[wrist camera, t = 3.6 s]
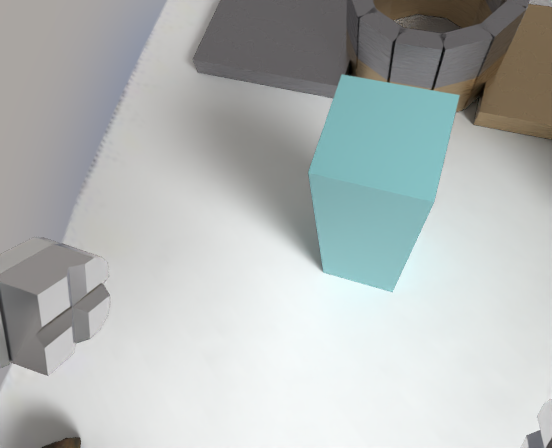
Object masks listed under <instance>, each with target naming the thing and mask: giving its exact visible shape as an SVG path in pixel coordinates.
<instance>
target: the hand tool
mask: <svg viewBox="0 0 552 448" xmlns="http://www.w3.org/2000/svg"><path fill="white" fill-rule="evenodd" d="M80 445H81V440H80V438H78V437H75V438H65V439H63V440H61V441H58V442H54V443H52V444H49V445H46V446H44V447H42V448H80Z"/></svg>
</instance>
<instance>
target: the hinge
mask: <svg viewBox="0 0 552 448" xmlns="http://www.w3.org/2000/svg"><path fill="white" fill-rule="evenodd" d="M415 14H421V15H429V16H436V17H443V18H447V19H449V20H450V21H452V22H453V23H455V24H457V25H458V26H460V27H461V28H462V29H458V30H454V31H450V32H446V33H436V32H430V31H423V30H416V29H409V28H403V27H402V26H400V25H399V24H398V23H396V22H395V21H393V20H396V19H400V18H404V17H407V16H411V15H415ZM193 62H194V64H195V66H196V69H197V71H198V72H199V73H204V74H209V75H215V76H220V77H225V78H230V79H236V80H241V81H246V82H251V83H257V84H262V85H267V86H273V87H278V88H283V89H288V90H294V91H299V92H304V93H309V94H315V95H320V96H325V97H331V98H334V96H335V93H336V90H337V87H338V84H339V81H340V78H341V75H342V74H343V75H348V76H349V74H350V75H351V76H354V77H360V78H365V79H371V80H377V81H382V82H388V83H394V84H399V85H405V86H411V87H416V88H422V89H428V90H433V91H439V92H445V93H450V94H456V95H460V96H459V100H458V104H457V108H456V112H458V111H462V110H463V108H464V109H466V108H467V107H468V106H469V105H470V104H471V103H472V102H473V101H475V100H476V99H477V98H478V97H479V96H480V98H479V102H478V107H477V111H476V116H475V120H474V125H478V126H483V127H489V128H494V129H499V130H504V131H510V132H515V133H520V134H525V135H531V136H536V137H541V138H547V139H552V7H549V6H541V5H533V4H529V0H221V1H220V3H219V5H218V7H217V9H216V11H215V13H214V15H213V17H212V20H211V22H210V24H209V26H208V28H207V30H206V32H205V34H204V36H203V39H202V41H201V43H200V45H199V47H198V49H197V51H196V53H195V55H194V58H193Z"/></svg>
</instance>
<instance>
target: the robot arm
mask: <svg viewBox="0 0 552 448" xmlns="http://www.w3.org/2000/svg"><path fill="white" fill-rule="evenodd" d="M108 277H109V271H108V262H107V261H106V260H105V259H103V258H102V257H100V256H97V255H94V254H91V253H88V252H86V251H83V250H80V249H77V248H74V247H71V246H68V245H65V244H60V243H58V242H56V241H52V240H49V239H46V238H43V237H33V238H31V239H29V240H27V241H25V242H23V243H21V244H19V245H17V246H15V247H13V248H11V249H9V250H7V251H5V252H3V253H1V254H0V368H3V367H5V366H7V365H9V364H10V362H11V363H14V364H16V365H19V366H22V367H25V368H27V369H30V370H33V371H36V372H38V373H41V374H44V375H47V376H49V375H50V374H51V373H52V372H53V371H54V370H55V369H57V368H58V367H59V366H60V365H61V364H62V363H63V362H65V361H66V360H67V359H68V358H69V357H70V356H71V355H73V354H74V350H75V343H79V342H82V341H85V340H88V339H91V338H92V337H93V336H94V335H95V334H96V333H97V332H98V331H99V330H100V329H101V327H102V325H103V324H104V322H105V320H106V318H107V317H108V313H109V308H110V295H109V293H108V291H107V290H106V288H105V286H104V285H103V283H104V282H105V281H106V280H107V279H108ZM537 418H538V422H539V427H540V430H539V431H536V432H534V433H531V434H529V435H527V436H526V438H525V440H524V442H523V444H522V446H521V448H552V399H549V400H548V401H547V402H546V403H545V404H544V405H543V406H542V408H541V410H540V412H539V413H538V415H537Z"/></svg>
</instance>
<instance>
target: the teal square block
mask: <svg viewBox="0 0 552 448" xmlns="http://www.w3.org/2000/svg"><path fill="white" fill-rule="evenodd" d="M459 96H460V95H456V94H450V93H445V92H439V91H433V90H428V89H422V88H416V87H411V86H405V85H399V84H394V83H388V82H382V81H377V80H371V79H365V78H360V77H354V76H348V75H343V74H342V75H341V78H340V81H339V84H338V87H337V90H336V93H335V96H334V98H333V101H332V104H331V107H330V110H329V113H328V116H327V119H326V122H325V125H324V128H323V131H322V134H321V137H320V139H319V142H318V145H317V148H316V151H315V154H314V157H313V160H312V163H311V166H310V169H309V172H308V175H309V182H310V188H311V195H312V201H313V208H314V214H315V221H316V227H317V234H318V240H319V247H320V253H321V260H322V266H323V272H324V273H327V274H331V275H334V276H338V277H341V278H345V279H348V280H352V281H355V282H359V283H362V284H366V285H369V286H373V287H376V288H380V289H383V290H387V291H390V292H393V290H394V288H395V285H396V283H397V281H398V279H399V277H400V275H401V273H402V270H403V268H404V266H405V264H406V262H407V260H408V257H409V255H410V253H411V251H412V249H413V247H414V245H415V242H416V240H417V238H418V236H419V234H420V232H421V229H422V227H423V225H424V223H425V221H426V219H427V216H428V214H429V212H430V210H431V208H432V206H433V204H434V201H435V196H436V192H437V188H438V184H439V180H440V175H441V171H442V167H443V163H444V159H445V154H446V150H447V146H448V142H449V138H450V133H451V129H452V125H453V121H454V117H455V112H456V108H457V104H458V100H459Z"/></svg>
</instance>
